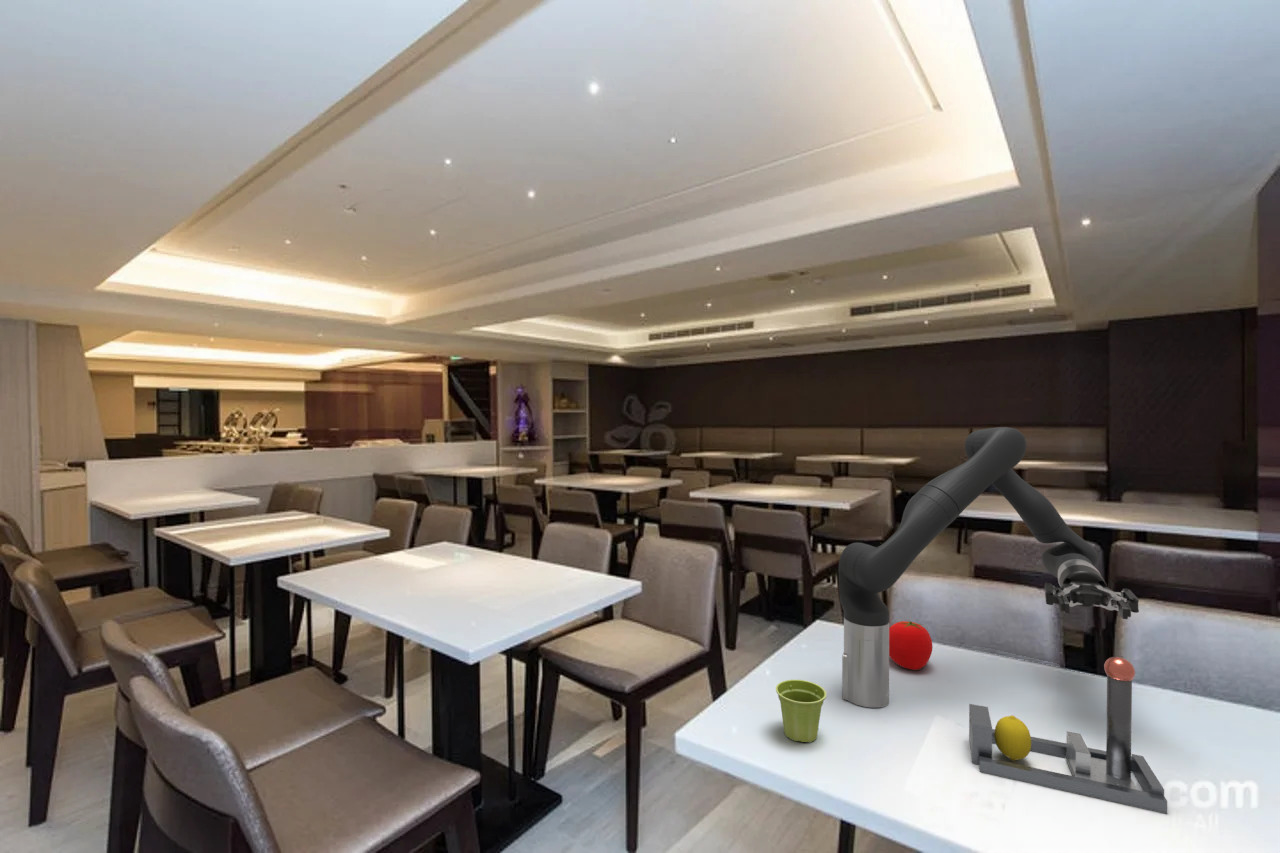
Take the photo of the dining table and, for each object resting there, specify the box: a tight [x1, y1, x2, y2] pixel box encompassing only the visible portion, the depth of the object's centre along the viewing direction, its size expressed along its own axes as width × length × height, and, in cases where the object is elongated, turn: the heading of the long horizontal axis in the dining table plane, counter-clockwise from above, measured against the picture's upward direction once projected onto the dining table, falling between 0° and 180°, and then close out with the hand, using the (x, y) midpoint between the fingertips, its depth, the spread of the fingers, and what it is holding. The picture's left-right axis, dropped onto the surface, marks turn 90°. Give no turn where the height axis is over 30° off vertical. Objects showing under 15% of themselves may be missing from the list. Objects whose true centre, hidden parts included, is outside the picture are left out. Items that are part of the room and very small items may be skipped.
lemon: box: [994, 715, 1032, 762], centre depth 105 cm, size 6×6×8 cm
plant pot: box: [775, 679, 827, 743], centre depth 113 cm, size 9×9×9 cm
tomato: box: [889, 620, 934, 671], centre depth 144 cm, size 10×11×11 cm
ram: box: [1065, 656, 1138, 790], centre depth 99 cm, size 8×8×21 cm
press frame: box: [968, 703, 1168, 814], centre depth 102 cm, size 26×13×7 cm, turn 64°
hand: (1095, 611), depth 108 cm, fingers open, 8 cm apart
